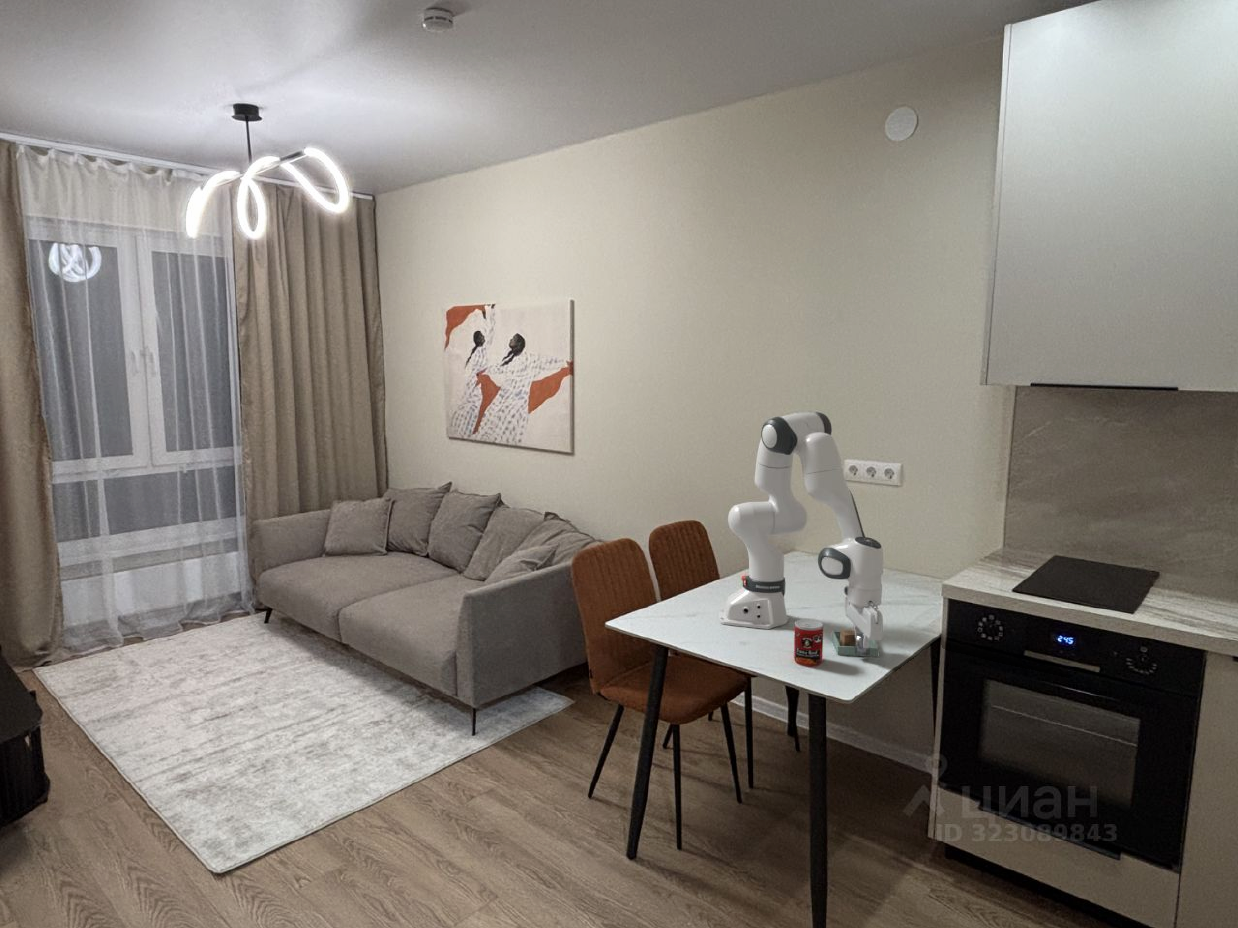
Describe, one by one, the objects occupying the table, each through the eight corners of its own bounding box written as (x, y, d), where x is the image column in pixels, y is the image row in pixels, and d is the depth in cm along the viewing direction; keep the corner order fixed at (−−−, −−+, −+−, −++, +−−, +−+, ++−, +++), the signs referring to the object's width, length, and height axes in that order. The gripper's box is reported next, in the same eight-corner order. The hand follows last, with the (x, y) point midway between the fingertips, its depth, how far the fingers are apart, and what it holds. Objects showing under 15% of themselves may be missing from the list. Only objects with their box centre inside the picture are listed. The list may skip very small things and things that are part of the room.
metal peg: (855, 655, 210) (855, 637, 209) (854, 650, 214) (855, 632, 213) (870, 656, 209) (871, 638, 208) (869, 651, 213) (869, 633, 212)
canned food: (792, 664, 208) (792, 626, 206) (796, 654, 215) (796, 617, 214) (820, 668, 205) (821, 629, 204) (823, 658, 213) (824, 620, 211)
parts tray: (837, 654, 215) (837, 646, 214) (831, 638, 228) (831, 630, 227) (878, 656, 213) (878, 648, 213) (869, 640, 226) (870, 632, 226)
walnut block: (844, 651, 216) (844, 634, 215) (839, 646, 220) (840, 630, 219) (857, 651, 216) (858, 634, 215) (853, 646, 220) (854, 629, 219)
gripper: (890, 608, 199) (887, 658, 201) (863, 584, 219) (860, 629, 221) (867, 608, 198) (864, 658, 201) (841, 584, 219) (839, 630, 221)
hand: (862, 643), depth 211 cm, fingers closed on metal peg, 4 cm apart
